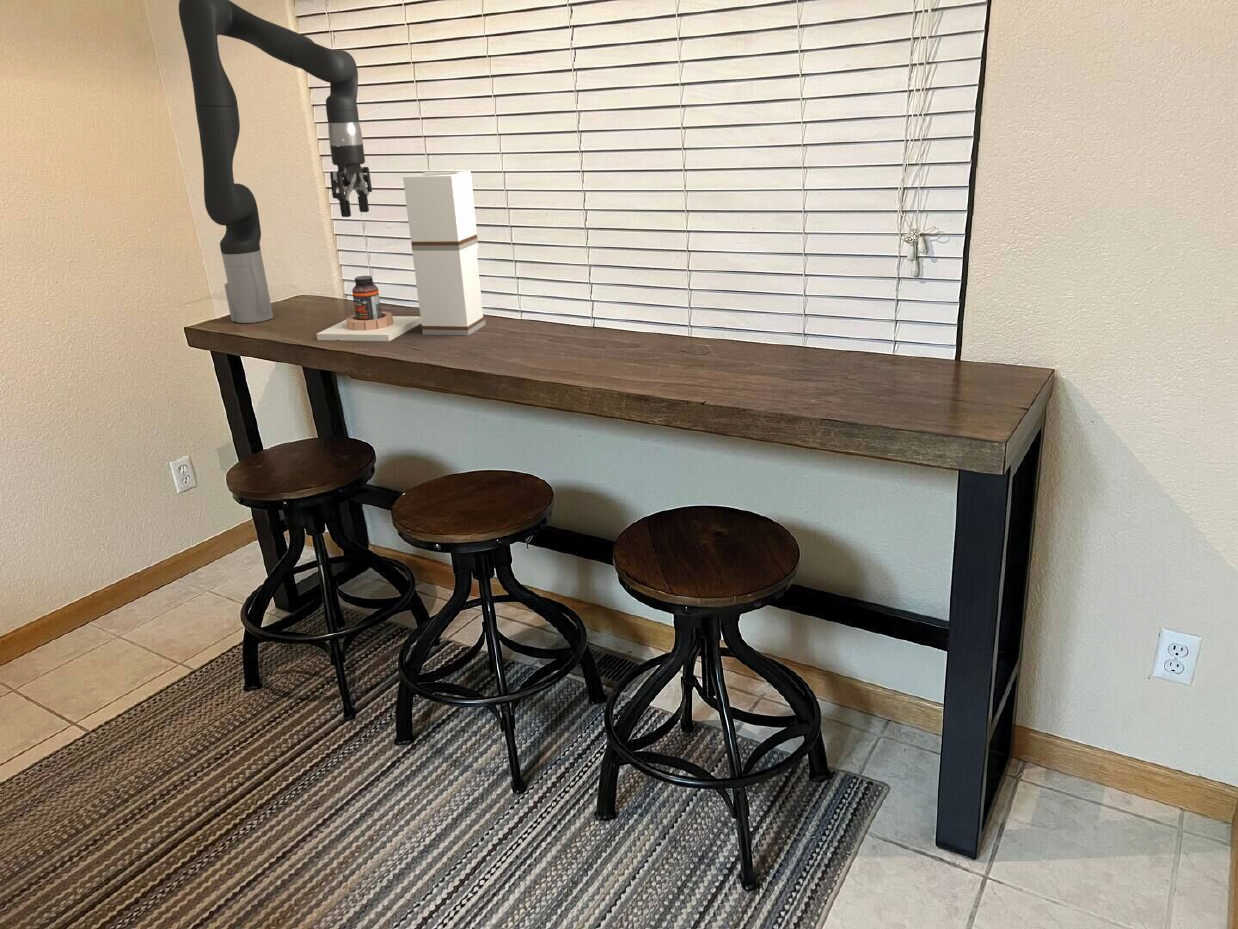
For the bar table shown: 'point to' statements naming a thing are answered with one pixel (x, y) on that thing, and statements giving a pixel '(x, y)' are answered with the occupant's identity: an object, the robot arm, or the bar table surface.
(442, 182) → the white striped pillar
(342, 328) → the collar mount
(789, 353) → the bar table surface
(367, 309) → the supplement bottle
